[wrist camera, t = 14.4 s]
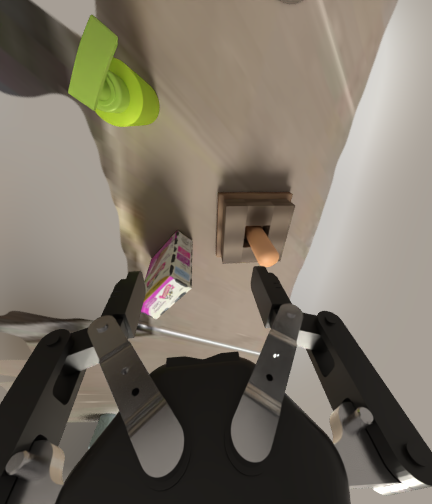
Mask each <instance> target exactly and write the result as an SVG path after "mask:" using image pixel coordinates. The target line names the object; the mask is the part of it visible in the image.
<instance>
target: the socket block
mask: <svg viewBox="0 0 432 504" xmlns="http://www.w3.org/2000/svg"><path fill="white" fill-rule="evenodd" d="M292 195H293V194H291V193H290V192H218V213H217V241H216V256H217V257H222V262H223V264H226V263H250V262H258V261H257V259H256V257H255V255H254V253H253V251H252V248H251V246H250V244H249V242H248V240H247V238H246V236H245V227H246V226H261V227H262V229H263V230H264V232H265V233H266V235H267V237H268V238H269V240H270V241H271V243H272V244H273V246H274V247H275V249H276V250H277V252H278V253H279V259H278V261H280V260H281V256H282V252H283V249H284V245H285V241H286V238H287V234H288V230H289V227H290V223H291V219H292V216H293V212H294V208H295V205H294V204H293V203H291V199H292Z"/></svg>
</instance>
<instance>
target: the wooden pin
mask: <svg viewBox="0 0 432 504" xmlns="http://www.w3.org/2000/svg"><path fill="white" fill-rule="evenodd" d="M245 236H246V238H247V240H248V242H249V244H250V246H251V248H252V251H253V253H254V255H255V257H256V259H257V261H258V263H259V265H261V266H265V267H270V266H272V265H274V264H275V263H276V262H277V261H278V259H279V253H278V252H277V250H276V249H275V247H274V246H273V244H272V243H271V241H270V240H269V238H268V237H267V235H266V233H265V232H264V230H263V229H262V227H261V226H246V227H245Z"/></svg>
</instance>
